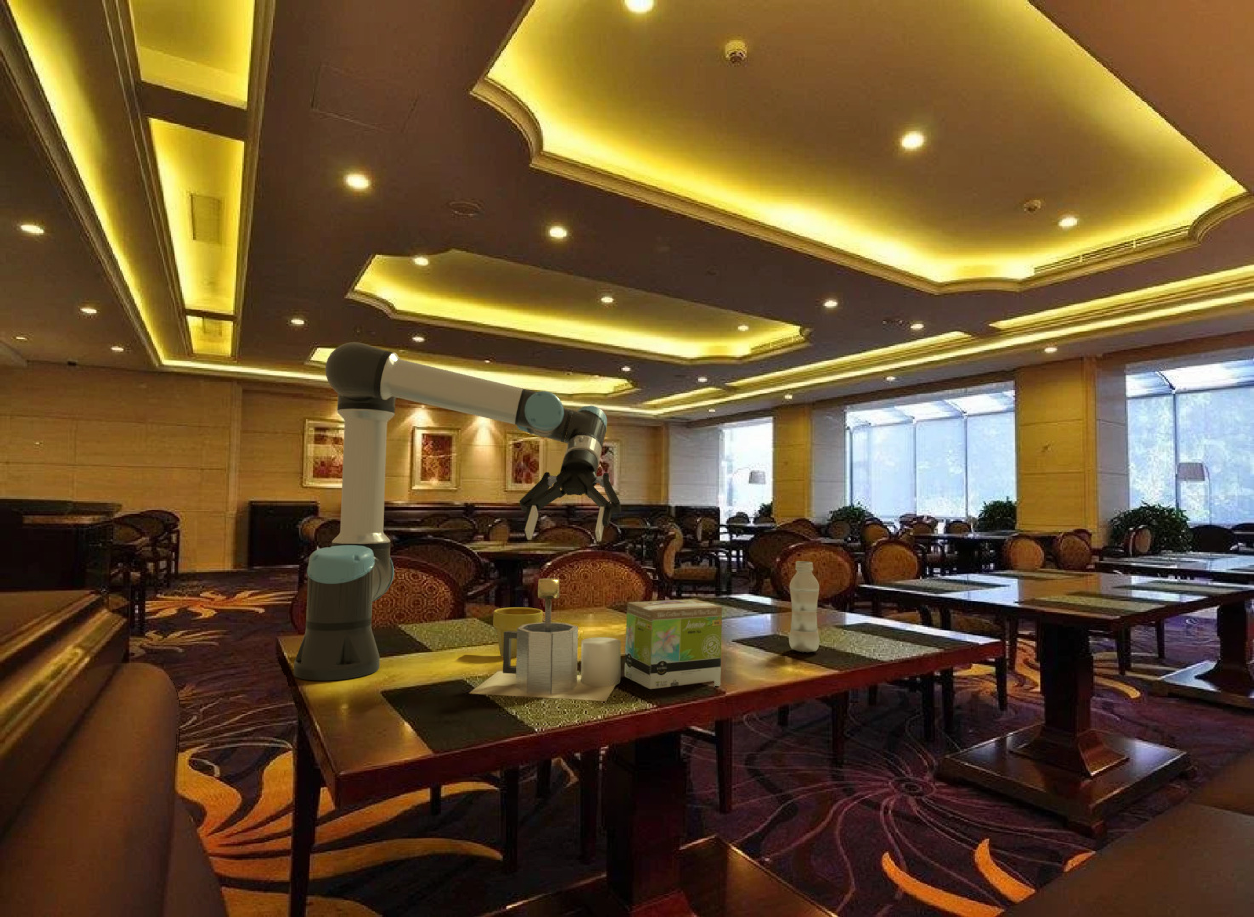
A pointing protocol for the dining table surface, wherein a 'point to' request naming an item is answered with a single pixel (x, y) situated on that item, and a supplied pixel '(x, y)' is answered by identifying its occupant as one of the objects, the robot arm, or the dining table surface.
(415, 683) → the dining table surface
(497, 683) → the serving board
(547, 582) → the plunger
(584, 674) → the white cylindrical canister
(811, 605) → the plastic bottle
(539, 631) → the silver faceted mug
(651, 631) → the tea box
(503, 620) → the plant pot
